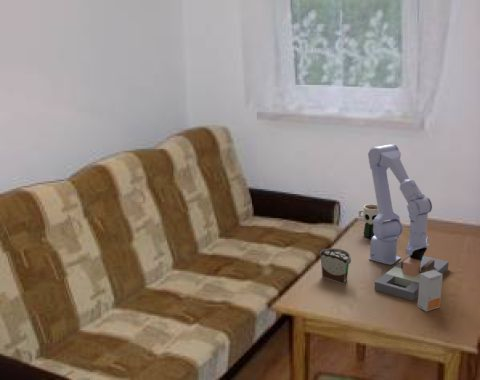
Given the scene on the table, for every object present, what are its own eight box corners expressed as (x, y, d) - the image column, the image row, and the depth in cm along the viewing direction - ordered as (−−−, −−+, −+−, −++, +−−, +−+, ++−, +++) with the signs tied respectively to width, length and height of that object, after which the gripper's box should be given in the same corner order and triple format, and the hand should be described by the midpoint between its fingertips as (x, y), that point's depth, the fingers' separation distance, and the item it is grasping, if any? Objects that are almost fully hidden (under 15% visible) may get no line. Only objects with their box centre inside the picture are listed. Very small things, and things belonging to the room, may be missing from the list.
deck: (374, 289, 217) (374, 281, 216) (411, 260, 239) (412, 253, 239) (412, 300, 209) (413, 292, 208) (447, 269, 231) (448, 261, 230)
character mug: (356, 237, 262) (357, 208, 258) (359, 231, 269) (360, 202, 265) (383, 240, 259) (384, 210, 255) (385, 234, 265) (386, 205, 261)
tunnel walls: (400, 268, 226) (401, 261, 225) (410, 260, 232) (410, 254, 231) (424, 274, 221) (425, 268, 220) (434, 266, 226) (434, 260, 226)
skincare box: (426, 312, 201) (428, 278, 198) (417, 306, 205) (419, 273, 201) (440, 307, 204) (443, 274, 200) (431, 302, 208) (433, 269, 204)
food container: (357, 279, 225) (358, 253, 222) (347, 285, 221) (348, 259, 218) (328, 270, 233) (329, 245, 230) (319, 275, 229) (319, 250, 226)
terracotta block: (402, 273, 222) (403, 261, 221) (408, 269, 225) (408, 257, 224) (414, 276, 219) (415, 264, 218) (420, 272, 223) (420, 260, 221)
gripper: (420, 240, 213) (418, 276, 217) (437, 227, 224) (435, 262, 228) (400, 235, 217) (399, 271, 221) (418, 223, 228) (416, 257, 232)
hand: (416, 266), depth 225 cm, fingers closed
